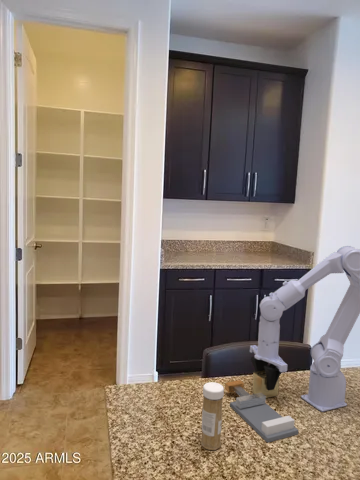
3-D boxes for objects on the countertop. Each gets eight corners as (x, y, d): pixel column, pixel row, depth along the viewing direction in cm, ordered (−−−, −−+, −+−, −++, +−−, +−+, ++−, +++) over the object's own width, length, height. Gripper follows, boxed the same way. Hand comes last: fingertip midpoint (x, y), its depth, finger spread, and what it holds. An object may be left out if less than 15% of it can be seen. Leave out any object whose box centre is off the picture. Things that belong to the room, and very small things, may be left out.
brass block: (269, 388, 105) (270, 369, 105) (277, 395, 102) (279, 375, 101) (252, 392, 103) (253, 372, 102) (260, 399, 99) (262, 378, 99)
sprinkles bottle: (224, 446, 79) (228, 388, 78) (208, 453, 76) (212, 393, 75) (211, 435, 82) (215, 379, 81) (196, 441, 80) (199, 384, 79)
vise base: (257, 400, 99) (258, 389, 99) (298, 434, 84) (299, 422, 84) (229, 406, 95) (230, 395, 95) (267, 442, 81) (268, 430, 81)
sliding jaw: (244, 385, 104) (244, 379, 104) (265, 403, 95) (265, 396, 95) (220, 390, 101) (220, 383, 101) (240, 408, 92) (240, 401, 92)
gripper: (242, 332, 106) (239, 376, 107) (273, 350, 93) (270, 400, 94) (261, 330, 109) (259, 373, 110) (294, 347, 96) (291, 396, 97)
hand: (265, 385), depth 102 cm, fingers closed on brass block, 4 cm apart
